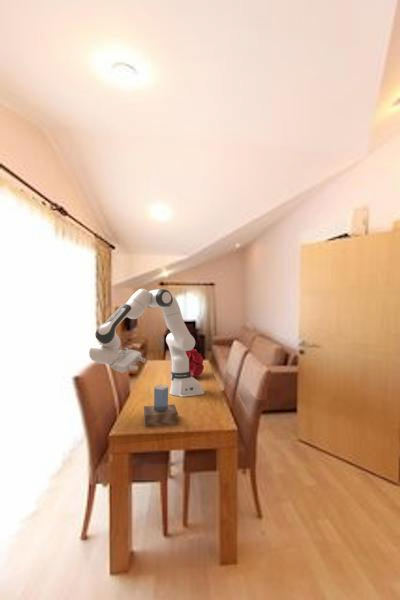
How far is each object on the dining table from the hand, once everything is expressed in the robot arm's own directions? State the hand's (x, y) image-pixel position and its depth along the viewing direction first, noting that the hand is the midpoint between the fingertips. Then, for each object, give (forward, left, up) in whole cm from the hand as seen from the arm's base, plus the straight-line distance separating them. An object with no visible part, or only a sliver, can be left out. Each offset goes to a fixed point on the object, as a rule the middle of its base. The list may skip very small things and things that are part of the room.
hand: (141, 364), depth 187 cm
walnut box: (-9, +8, -28) cm, 30 cm away
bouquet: (-41, -80, -28) cm, 94 cm away
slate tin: (-9, +7, -22) cm, 25 cm away
